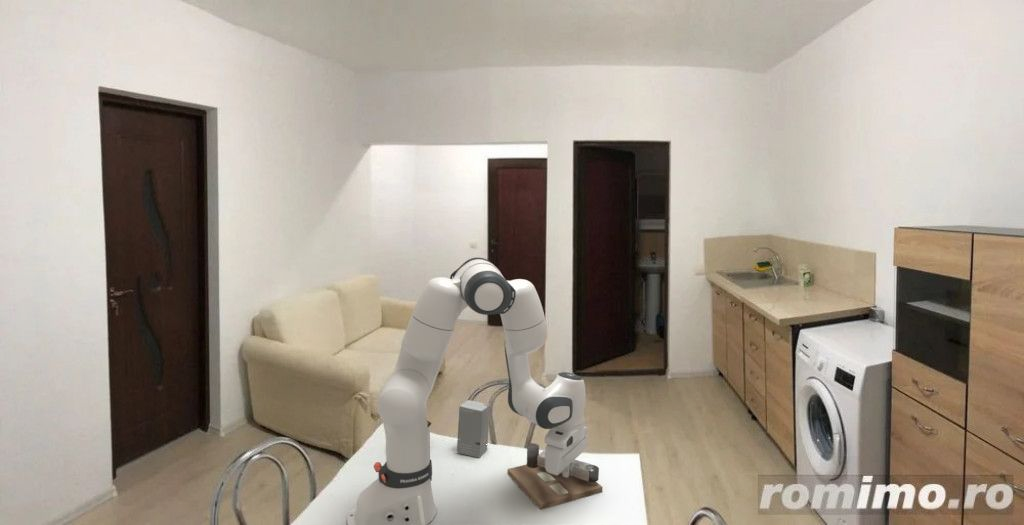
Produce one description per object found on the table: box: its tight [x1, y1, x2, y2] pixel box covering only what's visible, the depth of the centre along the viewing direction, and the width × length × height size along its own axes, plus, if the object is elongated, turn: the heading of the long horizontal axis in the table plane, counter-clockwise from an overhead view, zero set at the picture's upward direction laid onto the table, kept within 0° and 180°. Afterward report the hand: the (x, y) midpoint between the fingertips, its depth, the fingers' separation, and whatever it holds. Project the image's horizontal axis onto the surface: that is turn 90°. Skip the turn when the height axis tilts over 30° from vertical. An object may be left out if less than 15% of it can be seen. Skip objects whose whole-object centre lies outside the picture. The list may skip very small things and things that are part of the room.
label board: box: [507, 443, 603, 511], centre depth 156 cm, size 20×21×8 cm
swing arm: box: [537, 450, 600, 482], centre depth 157 cm, size 18×4×3 cm, turn 59°
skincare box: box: [456, 399, 491, 459], centre depth 173 cm, size 8×7×16 cm
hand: (567, 475), depth 153 cm, fingers closed
